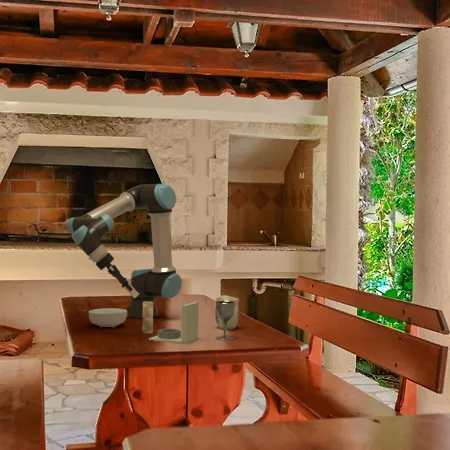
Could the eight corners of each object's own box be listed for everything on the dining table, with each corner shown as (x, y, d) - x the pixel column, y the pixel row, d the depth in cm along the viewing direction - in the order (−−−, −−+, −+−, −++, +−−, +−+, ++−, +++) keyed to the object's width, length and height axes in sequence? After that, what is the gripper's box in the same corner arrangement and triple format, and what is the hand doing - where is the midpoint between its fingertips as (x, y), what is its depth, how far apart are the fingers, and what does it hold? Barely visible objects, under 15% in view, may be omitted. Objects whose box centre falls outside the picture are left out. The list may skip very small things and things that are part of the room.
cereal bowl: (112, 322, 320) (112, 306, 320) (134, 326, 308) (134, 311, 308) (81, 325, 308) (81, 310, 308) (102, 331, 296) (102, 314, 296)
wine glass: (214, 336, 289) (215, 300, 288) (233, 336, 289) (234, 300, 289) (215, 340, 281) (216, 303, 280) (235, 340, 281) (236, 303, 281)
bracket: (148, 340, 277) (149, 302, 277) (162, 335, 288) (163, 299, 288) (184, 344, 271) (185, 305, 271) (197, 339, 282) (198, 302, 282)
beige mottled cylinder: (140, 332, 293) (141, 302, 293) (145, 331, 297) (146, 301, 297) (149, 333, 292) (150, 303, 291) (154, 332, 296) (155, 301, 295)
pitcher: (218, 332, 299) (219, 300, 298) (211, 325, 316) (212, 295, 316) (243, 332, 300) (244, 300, 300) (235, 325, 318) (236, 295, 318)
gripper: (93, 262, 302) (126, 297, 305) (95, 265, 278) (131, 303, 281) (106, 250, 303) (138, 286, 306) (110, 252, 279) (145, 291, 282)
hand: (135, 294), depth 293 cm, fingers open, 13 cm apart
